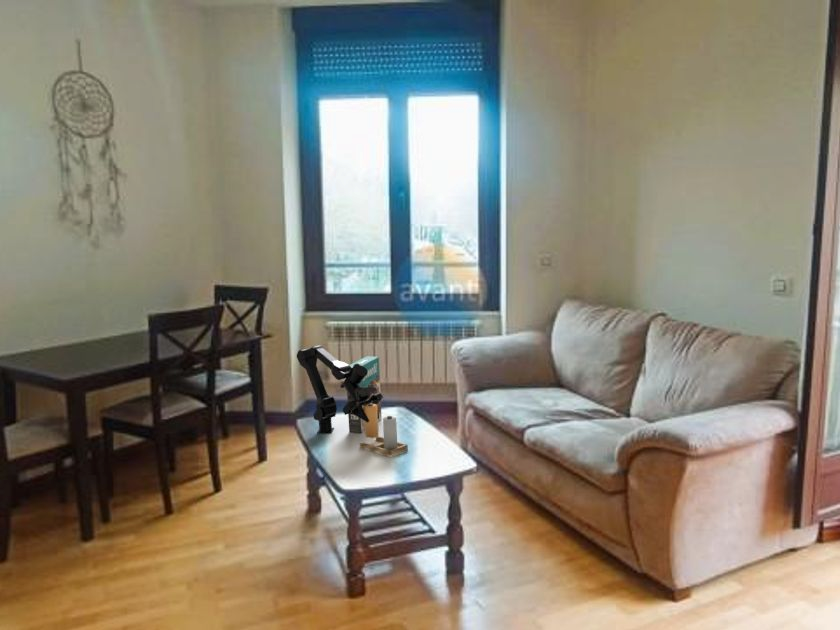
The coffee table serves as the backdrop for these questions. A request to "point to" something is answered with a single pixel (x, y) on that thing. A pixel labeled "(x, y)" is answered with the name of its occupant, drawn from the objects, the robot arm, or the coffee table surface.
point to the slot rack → (378, 447)
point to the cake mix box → (371, 378)
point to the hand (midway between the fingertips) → (373, 419)
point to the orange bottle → (371, 420)
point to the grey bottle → (390, 432)
